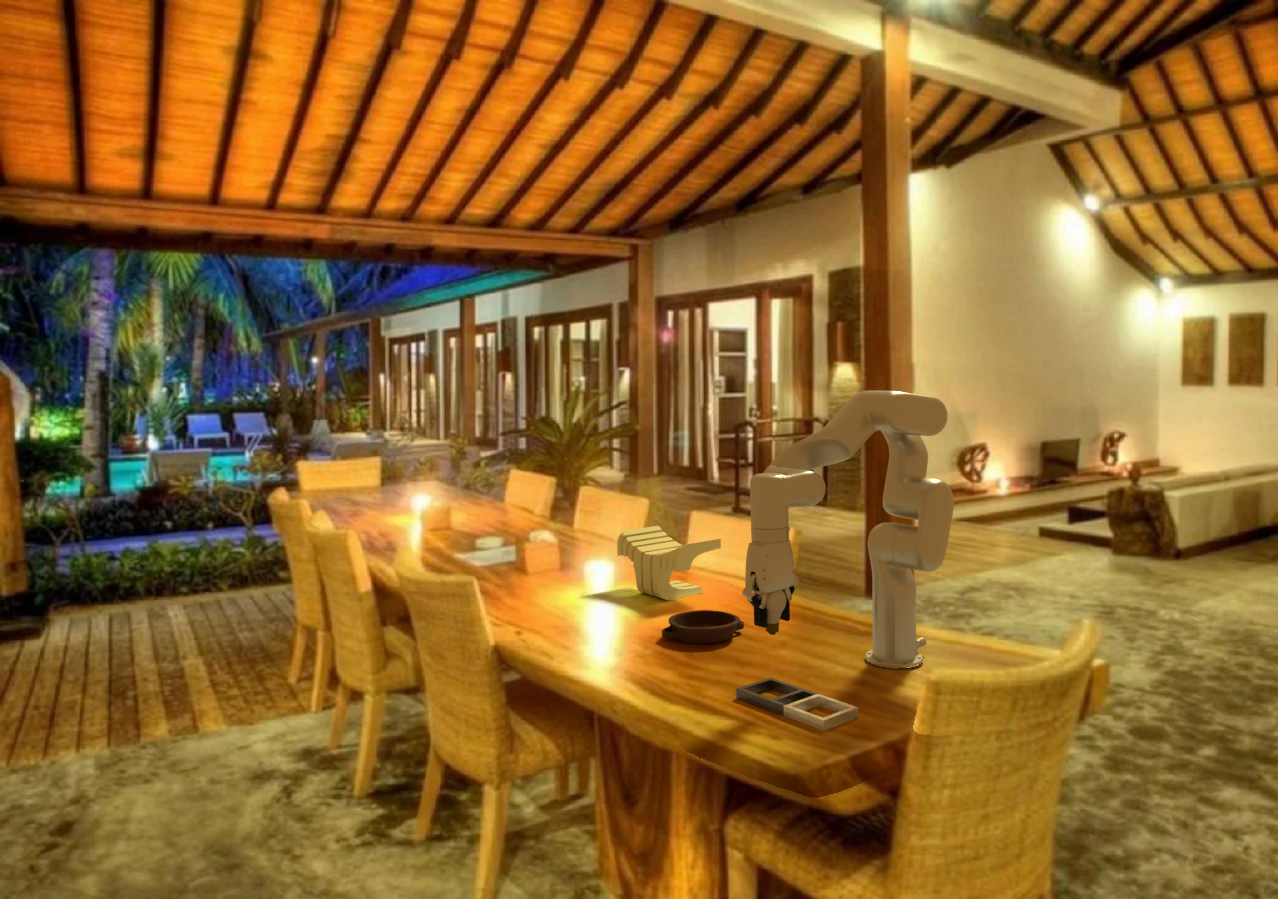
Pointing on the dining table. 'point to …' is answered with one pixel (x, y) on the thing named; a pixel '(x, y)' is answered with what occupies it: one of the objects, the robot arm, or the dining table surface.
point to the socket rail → (797, 703)
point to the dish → (702, 626)
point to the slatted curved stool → (661, 560)
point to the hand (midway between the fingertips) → (772, 622)
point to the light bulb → (774, 610)
